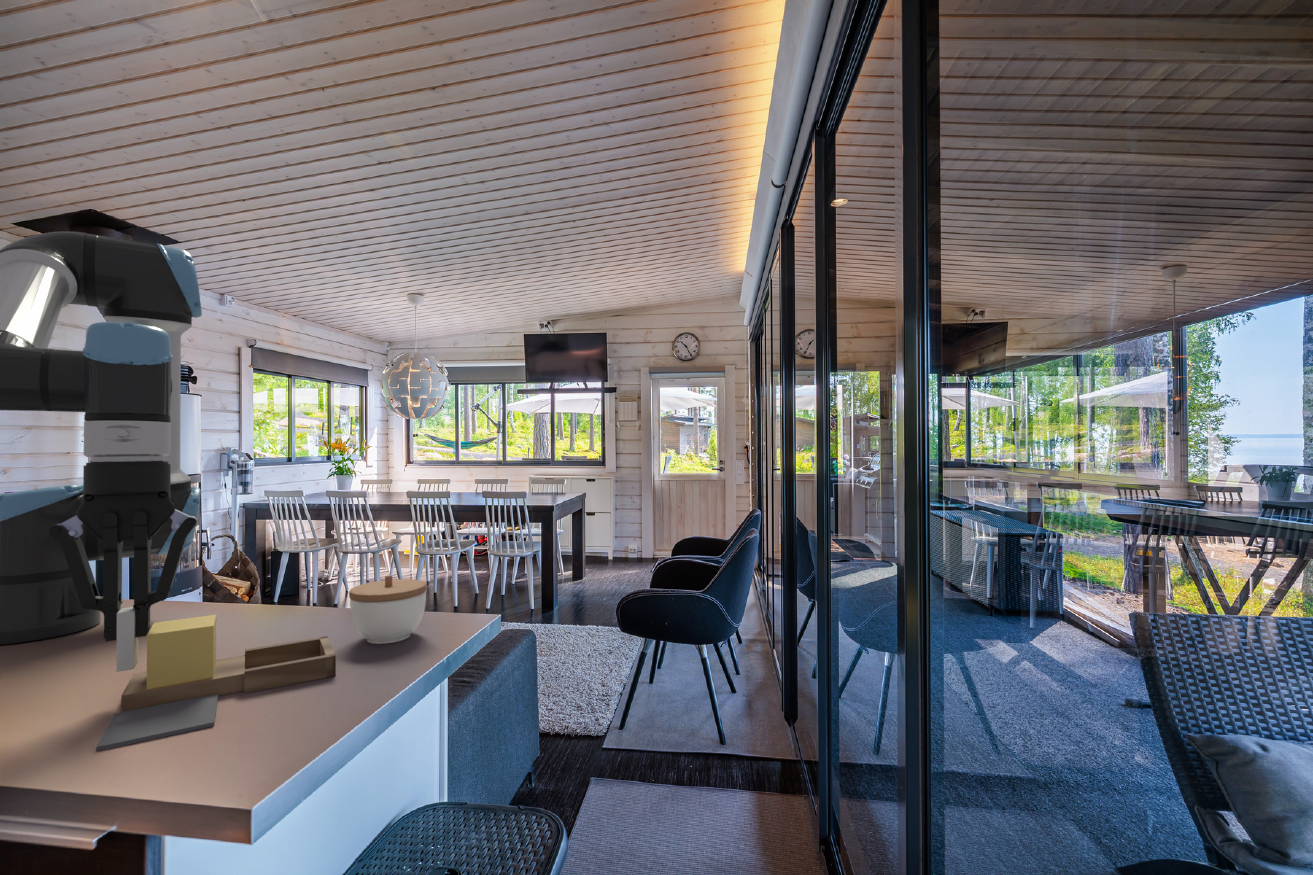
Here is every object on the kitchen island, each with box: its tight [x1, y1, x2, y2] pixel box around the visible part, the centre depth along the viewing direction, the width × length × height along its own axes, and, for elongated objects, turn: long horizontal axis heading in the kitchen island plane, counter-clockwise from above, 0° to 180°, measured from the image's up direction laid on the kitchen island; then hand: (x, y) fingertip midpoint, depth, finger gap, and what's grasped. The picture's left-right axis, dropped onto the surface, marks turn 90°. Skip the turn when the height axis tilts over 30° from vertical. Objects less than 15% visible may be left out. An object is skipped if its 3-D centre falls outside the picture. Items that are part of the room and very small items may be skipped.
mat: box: [95, 694, 219, 752], centre depth 63 cm, size 9×9×1 cm
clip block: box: [146, 614, 217, 689], centre depth 71 cm, size 6×6×6 cm
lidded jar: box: [348, 574, 427, 645], centre depth 91 cm, size 11×11×9 cm
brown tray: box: [120, 635, 337, 712], centre depth 74 cm, size 10×20×2 cm, turn 124°
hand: (127, 666), depth 69 cm, fingers closed
